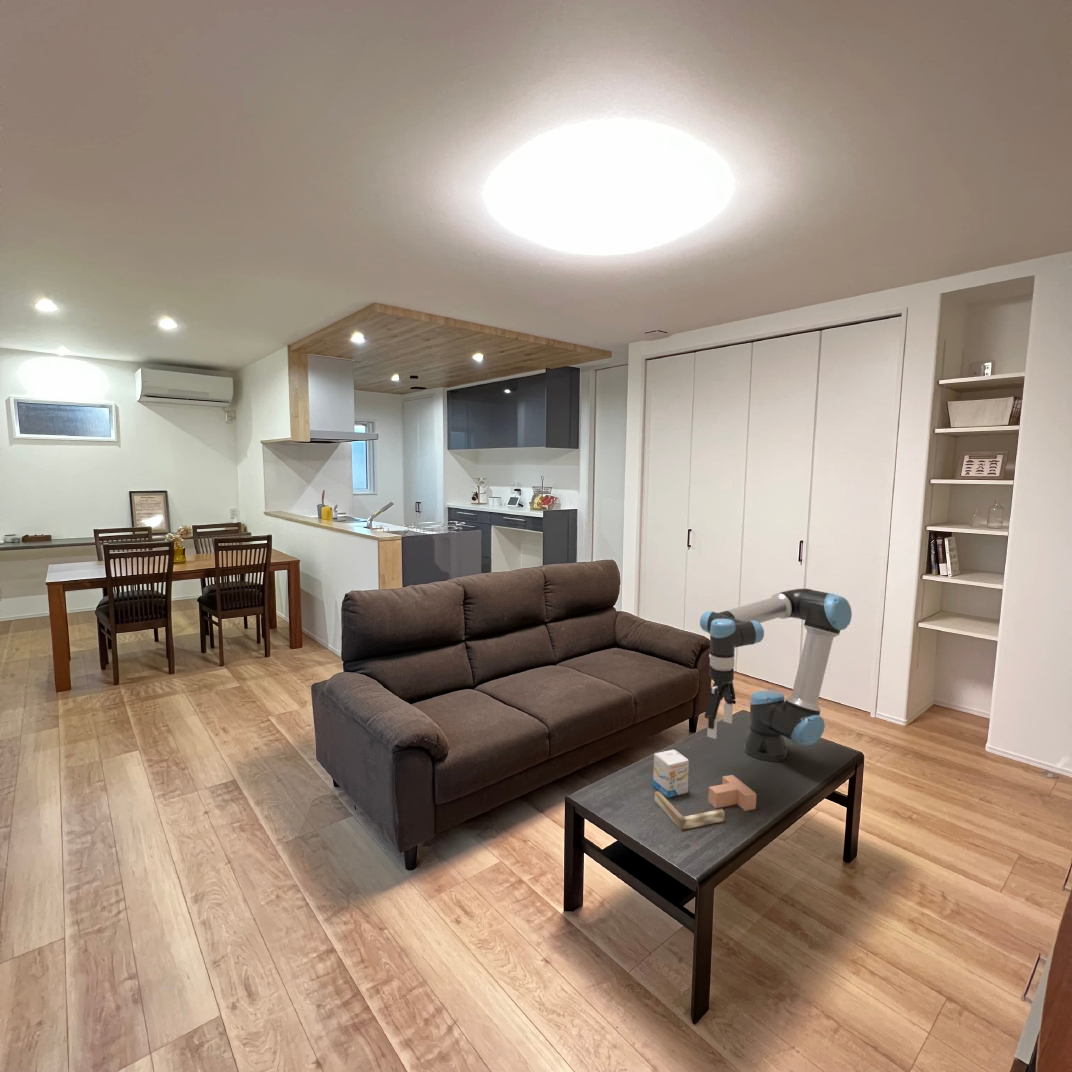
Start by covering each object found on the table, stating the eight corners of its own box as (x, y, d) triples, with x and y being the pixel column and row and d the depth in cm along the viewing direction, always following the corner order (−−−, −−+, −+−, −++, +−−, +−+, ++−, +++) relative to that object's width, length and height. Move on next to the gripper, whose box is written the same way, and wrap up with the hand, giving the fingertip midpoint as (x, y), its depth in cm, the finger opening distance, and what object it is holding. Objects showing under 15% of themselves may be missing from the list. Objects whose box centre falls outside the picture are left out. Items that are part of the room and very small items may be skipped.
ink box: (667, 798, 186) (668, 764, 185) (652, 785, 194) (653, 753, 193) (688, 792, 190) (689, 759, 188) (673, 780, 198) (674, 748, 196)
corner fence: (694, 792, 190) (695, 784, 189) (724, 820, 174) (724, 811, 174) (654, 800, 185) (654, 792, 185) (681, 830, 170) (681, 820, 170)
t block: (723, 815, 177) (723, 800, 177) (701, 794, 189) (701, 780, 188) (755, 808, 181) (756, 793, 180) (732, 788, 192) (732, 774, 192)
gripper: (724, 654, 196) (723, 713, 199) (694, 675, 177) (693, 740, 180) (746, 659, 192) (744, 719, 194) (718, 681, 173) (716, 747, 175)
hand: (720, 729), depth 187 cm, fingers open, 13 cm apart
